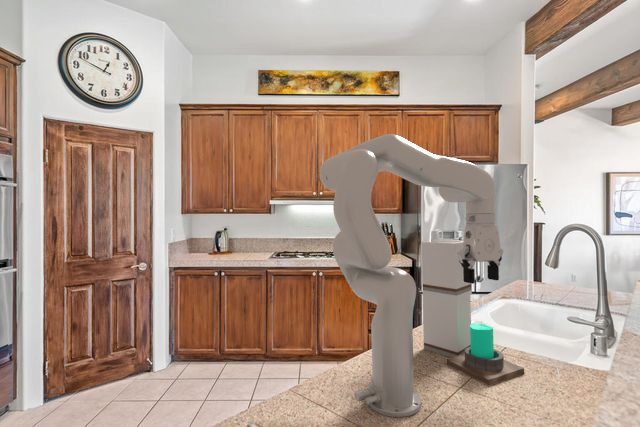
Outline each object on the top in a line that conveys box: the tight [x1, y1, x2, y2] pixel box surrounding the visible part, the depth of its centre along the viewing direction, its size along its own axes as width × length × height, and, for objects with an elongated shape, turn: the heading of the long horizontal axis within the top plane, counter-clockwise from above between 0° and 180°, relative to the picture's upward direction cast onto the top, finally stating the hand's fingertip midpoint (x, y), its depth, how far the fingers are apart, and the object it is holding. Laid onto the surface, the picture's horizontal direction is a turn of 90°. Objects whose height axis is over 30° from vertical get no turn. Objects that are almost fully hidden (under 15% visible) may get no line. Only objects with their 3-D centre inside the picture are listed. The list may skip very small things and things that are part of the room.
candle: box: [470, 321, 495, 359], centre depth 95 cm, size 6×6×12 cm
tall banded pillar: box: [420, 239, 473, 358], centre depth 109 cm, size 11×11×35 cm
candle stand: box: [446, 347, 525, 386], centre depth 95 cm, size 14×14×4 cm
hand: (481, 281), depth 95 cm, fingers open, 9 cm apart
